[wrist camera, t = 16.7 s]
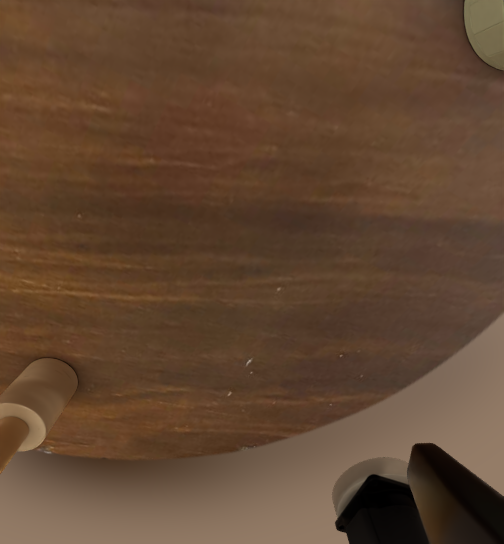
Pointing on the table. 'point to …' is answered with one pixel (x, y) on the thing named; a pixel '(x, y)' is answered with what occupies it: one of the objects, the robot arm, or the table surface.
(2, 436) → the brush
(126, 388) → the table surface
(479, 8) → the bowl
